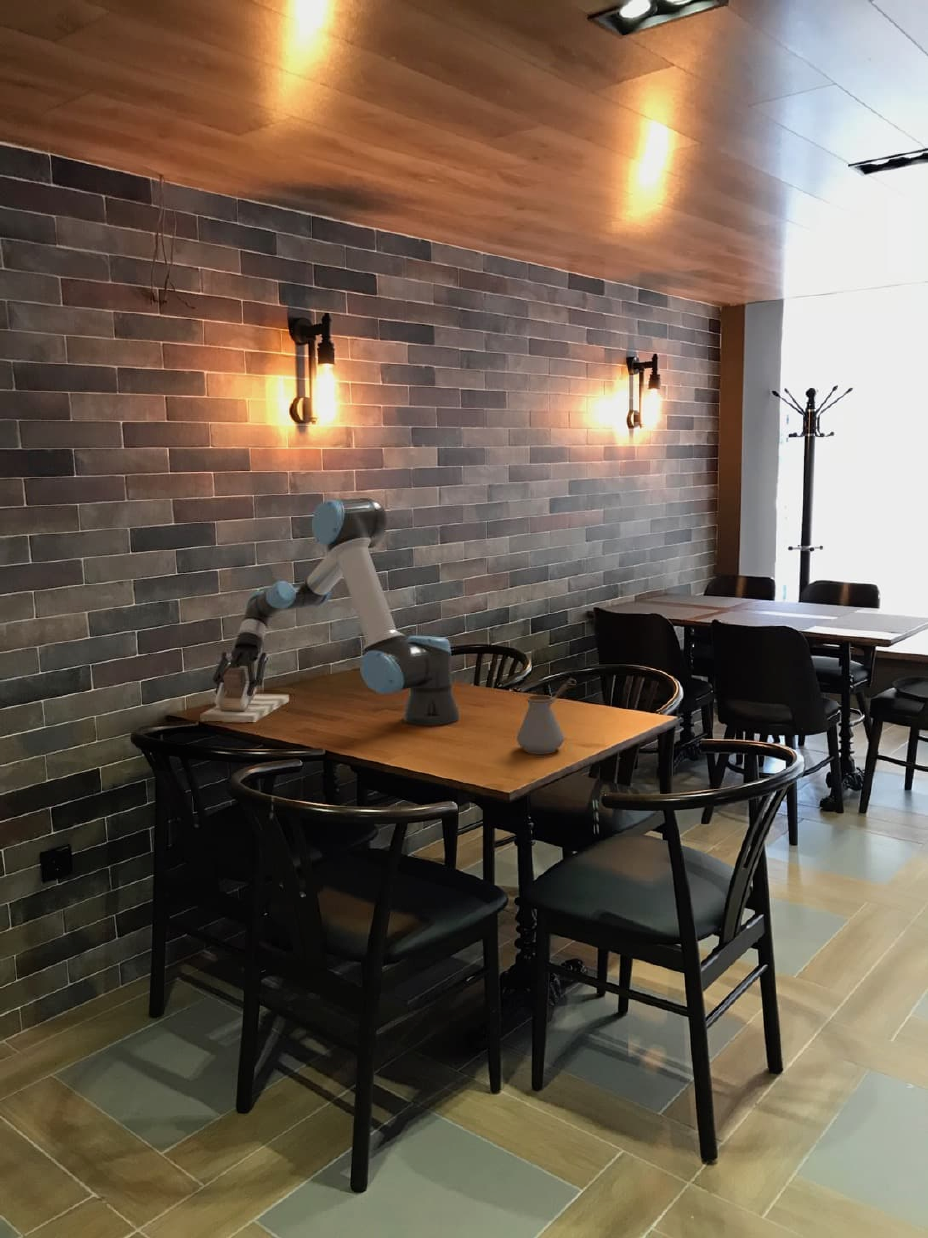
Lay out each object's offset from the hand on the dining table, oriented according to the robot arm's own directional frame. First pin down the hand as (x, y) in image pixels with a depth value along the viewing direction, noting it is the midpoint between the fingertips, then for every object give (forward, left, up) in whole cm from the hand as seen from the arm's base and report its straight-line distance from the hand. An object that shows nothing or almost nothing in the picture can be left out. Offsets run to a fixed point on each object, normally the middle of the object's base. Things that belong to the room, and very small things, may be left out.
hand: (230, 704), depth 275 cm
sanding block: (+3, -5, -1) cm, 6 cm away
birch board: (+5, -9, -4) cm, 11 cm away
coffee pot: (-89, -32, -5) cm, 94 cm away
